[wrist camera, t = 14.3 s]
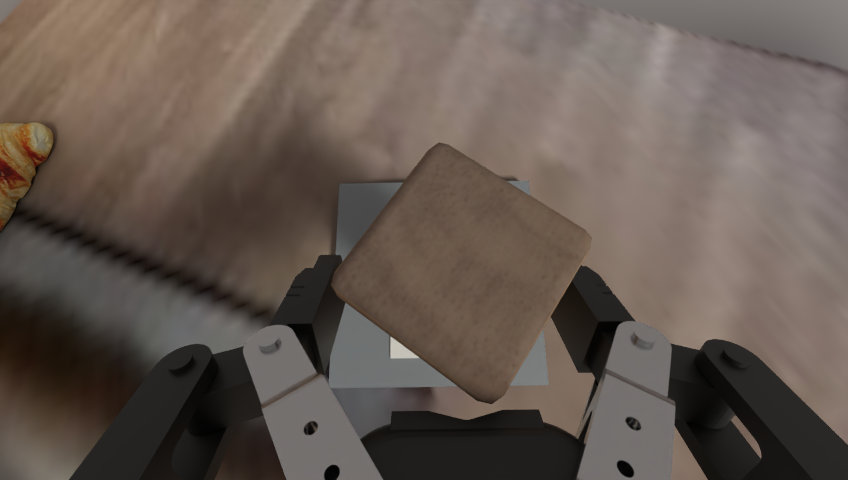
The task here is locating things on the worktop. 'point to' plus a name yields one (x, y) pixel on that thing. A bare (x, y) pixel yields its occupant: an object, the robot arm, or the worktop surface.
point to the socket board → (368, 344)
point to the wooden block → (463, 270)
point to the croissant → (20, 161)
